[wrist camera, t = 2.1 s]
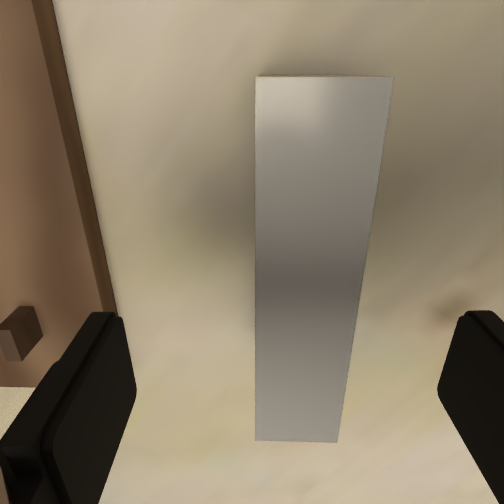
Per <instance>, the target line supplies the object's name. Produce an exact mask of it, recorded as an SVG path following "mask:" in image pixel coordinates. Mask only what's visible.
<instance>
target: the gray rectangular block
mask: <svg viewBox="0 0 504 504" xmlns="http://www.w3.org/2000/svg"><path fill="white" fill-rule="evenodd" d="M393 82H394V77H386V76H355V75H259V76H257V77H255V441H290V442H327V443H337V441H338V435H339V428H340V422H341V416H342V409H343V403H344V396H345V390H346V383H347V377H348V371H349V364H350V358H351V351H352V345H353V338H354V332H355V326H356V319H357V313H358V306H359V300H360V293H361V287H362V281H363V274H364V268H365V261H366V255H367V249H368V242H369V236H370V229H371V223H372V216H373V210H374V204H375V197H376V191H377V184H378V178H379V171H380V165H381V159H382V152H383V146H384V139H385V133H386V126H387V120H388V114H389V107H390V101H391V94H392V88H393Z"/></svg>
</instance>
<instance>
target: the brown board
mask: <svg viewBox="0 0 504 504" xmlns="http://www.w3.org/2000/svg"><path fill="white" fill-rule="evenodd" d="M91 312H115V314H116V316H117V317H118V315H117V310H116V305H115V300H114V296H113V291H112V286H111V281H110V276H109V272H108V267H107V262H106V257H105V253H104V248H103V243H102V238H101V233H100V229H99V224H98V219H97V214H96V210H95V205H94V200H93V195H92V190H91V186H90V181H89V176H88V171H87V167H86V162H85V157H84V152H83V147H82V143H81V138H80V133H79V128H78V124H77V119H76V114H75V109H74V104H73V100H72V95H71V90H70V85H69V81H68V76H67V71H66V66H65V61H64V57H63V52H62V47H61V42H60V38H59V33H58V28H57V23H56V18H55V14H54V9H53V4H52V0H0V387H37V386H38V384H39V383H40V381H41V380H42V379H43V377H44V376H45V374H46V373H47V371H48V370H49V368H50V367H51V366H52V365H53V364H54V363H55V362H56V361H58V360H59V359H60V358H61V356H62V355H63V353H64V352H65V350H66V349H67V347H68V346H69V344H70V343H71V341H72V340H73V338H74V337H75V335H76V334H77V332H78V331H79V330H80V328H81V327H82V325H83V324H84V322H85V321H86V319H87V318H88V316H89V315H90V314H91Z"/></svg>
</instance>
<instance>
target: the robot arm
mask: <svg viewBox="0 0 504 504" xmlns="http://www.w3.org/2000/svg"><path fill="white" fill-rule="evenodd" d="M136 392H137V388H136V382H135V377H134V372H133V367H132V362H131V358H130V353H129V348H128V343H127V338H126V333H125V328H124V323H123V319H122V318H121V317H117V316H116V314H115V312H91V314H90V315H89V316H88V318H87V319H86V321H85V322H84V324H83V325H82V327H81V328H80V330H79V331H78V332H77V334H76V335H75V337H74V338H73V340H72V341H71V343H70V344H69V346H68V347H67V349H66V350H65V352H64V353H63V355H62V356H61V358H60V359H59V360H58V361H56V362H55V363H54V364H53V365H52V366H51V367H50V368H49V370H48V371H47V373H46V374H45V376H44V377H43V379H42V380H41V381H40V383H39V384H38V386H37V387H36V389H35V390H34V392H33V393H32V395H31V396H30V398H29V399H28V400H27V402H26V403H25V405H24V406H23V408H22V409H21V411H20V412H19V414H18V415H17V417H16V418H15V419H14V421H13V422H12V424H11V425H10V427H9V428H8V430H7V431H6V433H5V434H4V436H3V437H2V438H1V440H0V504H98V503H99V500H100V497H101V495H102V492H103V489H104V486H105V483H106V481H107V478H108V475H109V472H110V469H111V467H112V464H113V461H114V458H115V455H116V453H117V450H118V447H119V444H120V441H121V439H122V436H123V433H124V430H125V427H126V425H127V422H128V419H129V416H130V413H131V411H132V408H133V405H134V402H135V399H136ZM437 392H438V396H439V399H440V401H441V403H442V404H443V406H444V408H445V410H446V411H447V413H448V415H449V417H450V418H451V420H452V422H453V424H454V425H455V427H456V429H457V431H458V432H459V434H460V436H461V438H462V439H463V441H464V443H465V445H466V446H467V448H468V450H469V452H470V453H471V455H472V457H473V459H474V460H475V462H476V464H477V466H478V467H479V469H480V471H481V473H482V474H483V476H484V478H485V480H486V481H487V483H488V485H489V487H490V488H491V490H492V492H493V494H494V495H495V497H496V499H497V501H498V502H499V504H504V322H503V321H502V320H501V319H500V318H499V317H498V316H497V315H496V314H495V313H494V312H493V311H489V310H478V311H467V312H466V313H465V314H464V316H461V317H459V319H458V322H457V325H456V328H455V331H454V335H453V338H452V341H451V344H450V347H449V351H448V354H447V357H446V360H445V364H444V367H443V370H442V373H441V377H440V380H439V383H438V387H437Z"/></svg>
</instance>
